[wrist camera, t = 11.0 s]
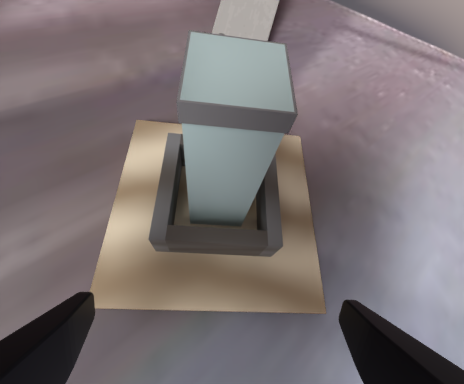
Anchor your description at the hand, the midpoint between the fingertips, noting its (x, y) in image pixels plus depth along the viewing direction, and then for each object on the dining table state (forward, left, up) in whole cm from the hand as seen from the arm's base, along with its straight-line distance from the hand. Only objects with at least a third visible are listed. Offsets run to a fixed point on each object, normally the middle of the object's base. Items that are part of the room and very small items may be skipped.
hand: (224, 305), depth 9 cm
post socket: (+6, -5, -9) cm, 12 cm away
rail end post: (+6, -5, -8) cm, 12 cm away
